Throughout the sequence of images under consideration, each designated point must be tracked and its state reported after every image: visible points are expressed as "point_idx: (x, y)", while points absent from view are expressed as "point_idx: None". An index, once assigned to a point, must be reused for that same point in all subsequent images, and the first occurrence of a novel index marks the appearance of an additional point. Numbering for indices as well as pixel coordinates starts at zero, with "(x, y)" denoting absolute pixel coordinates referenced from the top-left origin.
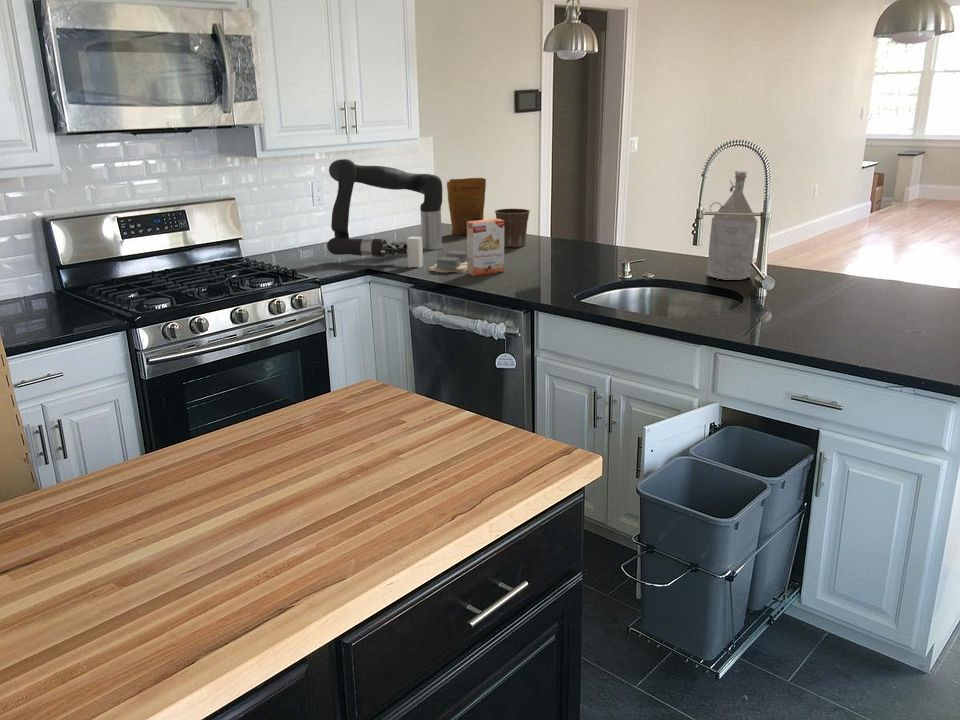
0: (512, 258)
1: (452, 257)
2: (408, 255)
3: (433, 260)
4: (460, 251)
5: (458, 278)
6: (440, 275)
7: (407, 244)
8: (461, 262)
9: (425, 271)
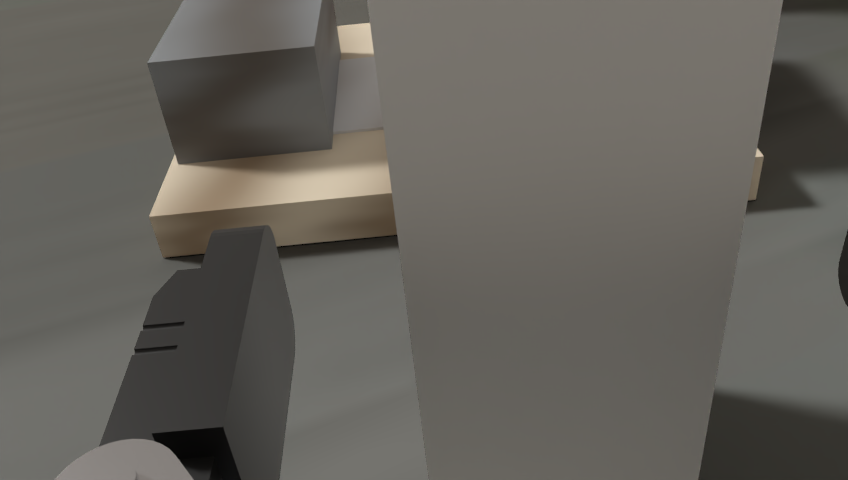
0: (37, 3)
1: (326, 62)
2: (708, 353)
3: (8, 403)
4: (186, 8)
5: (824, 4)
6: (836, 92)
7: (762, 85)
8: (361, 60)
9: (777, 237)
